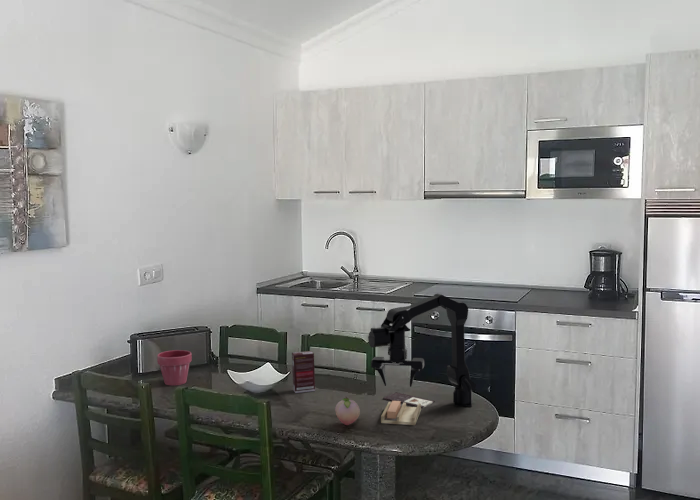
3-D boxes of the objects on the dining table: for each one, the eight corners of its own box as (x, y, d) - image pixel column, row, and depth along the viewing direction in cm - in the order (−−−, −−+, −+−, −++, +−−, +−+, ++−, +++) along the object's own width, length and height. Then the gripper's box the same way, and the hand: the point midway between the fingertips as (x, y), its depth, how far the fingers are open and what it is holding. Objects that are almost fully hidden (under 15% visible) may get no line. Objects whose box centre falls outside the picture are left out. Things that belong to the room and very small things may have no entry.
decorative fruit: (363, 428, 233) (362, 400, 232) (340, 431, 231) (340, 402, 230) (355, 419, 242) (355, 392, 241) (333, 421, 240) (332, 394, 239)
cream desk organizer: (420, 410, 250) (420, 403, 250) (415, 425, 235) (414, 418, 235) (388, 408, 253) (388, 401, 253) (381, 423, 238) (381, 416, 237)
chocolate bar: (396, 392, 271) (434, 400, 259) (396, 394, 271) (434, 403, 260) (382, 397, 264) (421, 406, 252) (382, 400, 264) (421, 409, 253)
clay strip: (400, 407, 250) (400, 401, 250) (395, 418, 238) (395, 411, 238) (392, 407, 251) (392, 400, 250) (387, 418, 239) (387, 411, 239)
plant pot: (186, 376, 300) (185, 347, 299) (197, 383, 288) (195, 354, 287) (154, 381, 293) (153, 352, 292) (163, 389, 281) (162, 359, 280)
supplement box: (312, 387, 280) (312, 350, 278) (315, 391, 275) (314, 353, 274) (292, 389, 278) (291, 352, 276) (294, 393, 273) (293, 355, 271)
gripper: (425, 339, 249) (426, 380, 251) (375, 338, 253) (377, 378, 255) (421, 346, 238) (422, 389, 240) (370, 345, 243) (371, 387, 244)
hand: (398, 386), depth 245 cm, fingers open, 9 cm apart
